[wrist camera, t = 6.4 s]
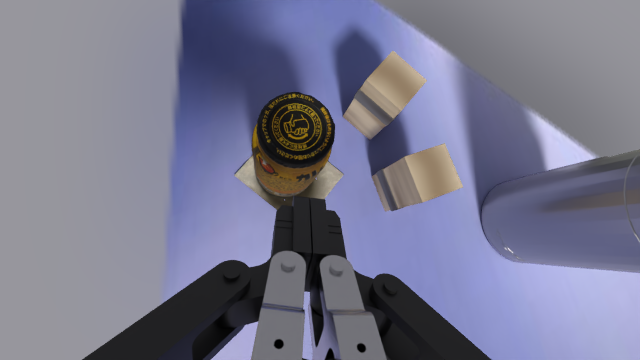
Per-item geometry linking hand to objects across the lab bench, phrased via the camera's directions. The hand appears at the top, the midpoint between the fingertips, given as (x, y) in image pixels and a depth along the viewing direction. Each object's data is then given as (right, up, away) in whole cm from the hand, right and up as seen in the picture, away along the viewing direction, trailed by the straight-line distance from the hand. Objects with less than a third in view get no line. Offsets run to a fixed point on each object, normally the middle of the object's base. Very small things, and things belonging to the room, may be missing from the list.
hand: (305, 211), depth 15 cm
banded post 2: (+9, +1, +19) cm, 21 cm away
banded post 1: (+6, +9, +20) cm, 22 cm away
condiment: (-2, +2, +17) cm, 17 cm away
